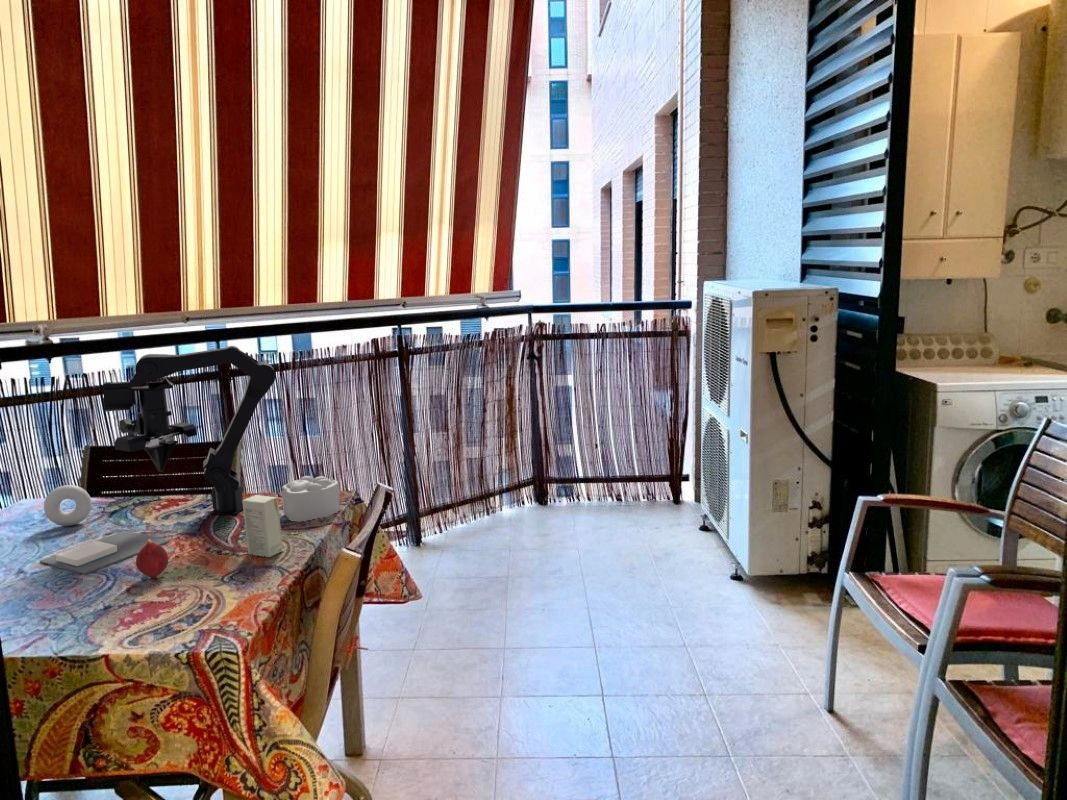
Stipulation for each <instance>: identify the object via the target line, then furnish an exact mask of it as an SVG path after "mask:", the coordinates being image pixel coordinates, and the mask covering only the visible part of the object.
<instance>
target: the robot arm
mask: <svg viewBox="0 0 1067 800" xmlns="http://www.w3.org/2000/svg"><path fill="white" fill-rule="evenodd" d="M228 364H231V365H233V366H234V367H235V368H237V369H238V370H240V371H241V372H242V373H244V374H245V375H247V382H246V386H245V390H244V394H243V396H242V398H241V401H240V402H239V405H238V407H237V409H236V410H235V413H234V415H233V417H232V419H231V421H230V423H229V426H228V427H227V430H226V432H225V434H224V437H223V438H222V440H221V443H220V444H219V445H218V446H217V448H215V449H214V448H212V447H209V451H208V454H207V457H206V458H205V459H204V460H203V461H202V462H203V463H202V465H203V466H202V469H204V471H203V473H204V475H203V476H204V479H205V481H206V482H207V483H208V484H210V485H212V486H213V487H212V493H211V503H212V510H211V511H210V514H211V515H212V514H213V515H230V516H231V515H232V516H234V515H236V514H238V513H239V512H241V511H243V502H242V500H244V495H243V494H244V493H243V486H242V484H240V477H239V473H238V472H237V471H236V470H234V469H233V468H232V467H233V463H234V458H235V454H236V451H237V449H238V447H239V445H240V442H241V440H242V438H243V436H244V433H245V432H246V429H247V428H248V425H249V423H250V421H251V419H252V417H253V415H254V413H255V411H256V408H257V406H258V404H259V403H260V401H261V400H262V399H263V397H264V396H265V395H266V394H267V393H268V391H269V390H270V388H271V387H272V386H273V384H274V383H275V381H276V377H277V374H276V372H275V369H274V368H273V366H272V365H271V364H270V363H268V362H266V361H258V360H257V359H256V358H254V357H252V356H250V355H248V354H247V353H246V352H244V351H242V349H240V348H239V347H237V346H236V345H229V346H227V347H221V348H215V349H214V348H213V349H207V350H203V351H201V350H200V351H195V352H187V353H183V354H182V353H181V354H167V353H166V354H165V353H148V354H145V355H142V356H141V357H140V358H139V359H138V361H137V362H136V364H135V369H134V370H135V374H134V375H133V376H131V377H130V379H129V381H118V382H114V381H105V382H104V383H103V390H102V391H103V398H102V404H103V409H104V412H105V413H108V412H109V413H110V412H117V411H119V412H120V411H132V410H133V408H134V406H137V405H138V395H139V405H140V412H137V414H136V418H137V419H134V420H132V419H130V418H123V419H120V420H119V429H120V432H121V433H122V434H127V435H123V436H119V437H116V438H115V440H114V442H113V443H114V450H116V451H122V452H129V453H132V452H137V451H140V450H144V451H145V452H146V453H147V454H148V455H149V457H150V459H151V461H152V463H153V465H154V466H155V468H156V470H157V472H160V473H163V472H164V471H165V469H166V467H167V464H168V461H169V458H171V457H170V456H171V454H172V452H173V450H174V449H175V446H176V445H177V444H179V440H175V437H176V436H181V435H184V436H185V437H186V438H191V437H194V436H197V435H198V429H197V427H196V425H195V424H194V423H187V422H177V423H174V424H170V421H169V419H170V418H169V416H173V413H172V411H171V410H168V403H167V402H168V401H167V400H168V399H167V394H166V393H167V391H166V390H168V389H174V383H173V382H171V381H170V380H169V379H168V378H167V377H168V376H171V375H174V374H176V373H179V372H184V371H190V370H196V369H202V368H211V367H215V366H220V365H221V366H222V365H228ZM160 379H162V380H160ZM158 380H159V381H158ZM146 382H148V385H144V386H142V385H143V384H145V383H146ZM137 392H138V394H137Z"/></svg>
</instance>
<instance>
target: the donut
mask: <svg viewBox="0 0 1067 800" xmlns="http://www.w3.org/2000/svg"><path fill="white" fill-rule="evenodd" d="M65 500H72V501H74V503H75V508H74V509H73V510H71V511H65V510H63V509H62V508H61V504H62V502H63V501H65ZM92 506H93V502H92V499H91V496H90V494H89V493H88V492H87V490H85V489H84V488H83V487H81V486H79V485H78V486H77V485H74V484H64V485H61V486H57V487H56V488H54V489H53V490H51V491H50V492H49V493H48V494H47V495H46V497H45V499H44V502H43V511H44V514H45V516H46V517H47V519H48V520H49V521H50V522H51V523H54V524H55V525H56V526H61V527H73V526H75V525H78V524H80V523H81V522H83V521H85V519H87V518H88V516H89V515H90V513H91V511H92V509H93V507H92Z"/></svg>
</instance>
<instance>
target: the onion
mask: <svg viewBox="0 0 1067 800" xmlns="http://www.w3.org/2000/svg"><path fill="white" fill-rule="evenodd" d="M169 560H170V559H169V554H168V552H167V550H166V549H165V547H163V545H158V544H155V543H154V542H152V540H150V539H148V541H147V544H146V545H145V546H144V547H143V548H142V549H141V550H140V551H139V553H138V554H137V555H136V557H135V566H136V569H137V570H138V571H139V572H140V573H141V574H142V575H144V576H146V577H149V578H151V579H155V578H157V577H158V576H159V575H161V574H162V573H163V572H164V571H165V569H166V568H167V566H168V565H169Z"/></svg>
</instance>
